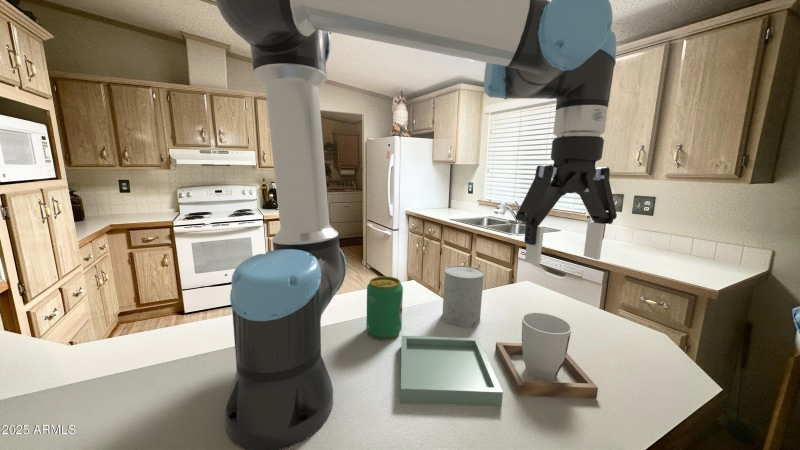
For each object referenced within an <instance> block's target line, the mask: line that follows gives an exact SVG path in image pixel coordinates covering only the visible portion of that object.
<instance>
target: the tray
mask: <svg viewBox="0 0 800 450" xmlns="http://www.w3.org/2000/svg"><path fill="white" fill-rule="evenodd" d="M400 345H401V346H400V347H401V349H400V352H401V353H400V355H401V356H400V357H401V358H400V359H401V360H400V403H402V404H427V405H451V406H452V405H455V406H456V405H457V406H459V405H460V406H480V407H481V406H482V407H486V406H487V407H488V406H489V407H502V405H503V403H502V402H503V397H504V396H503V394H504V392H503V389H502V386H501V385H500V382H499V380H498V378H497V375H496V374H495V372H494V369H493V366H492V365H491V363H490V360H489V358H488V355H487V353H486V352H485V349H484V346H483V344H482V342H481V340H480V338H479V337H454V336H453V337H452V336H451V337H449V336H428V335H427V336H424V335H401V343H400Z"/></svg>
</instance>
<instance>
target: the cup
mask: <svg viewBox="0 0 800 450" xmlns="http://www.w3.org/2000/svg"><path fill="white" fill-rule="evenodd" d="M521 320H522V321H521V343H522V350H523V355H522V359H523V363H524V366H525V370H526V372H527V374H528V375H529V376H530V377H532V378H534V379H536V380H537V381H538V380H539V381H540V382H553V381H554V380H555V379H556V378H557V376H558V373H559V372H560V371H561V369H562V367H563V361H564V358H565V355H566V353H567V354H568V348H569V345H570V344H569V343H570V340H571V339H570V338H571V335H572V326H571V324H570V323H569V322H568V321H566V320H565V319H564V318H561V317H559V316H556V315H553V314H550V313H544V312H528V313H525V314H524V315H522V319H521Z"/></svg>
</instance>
